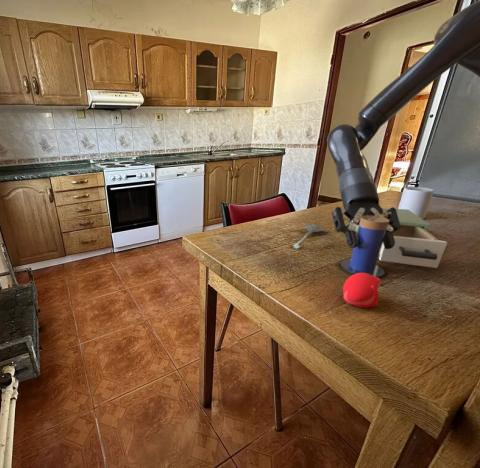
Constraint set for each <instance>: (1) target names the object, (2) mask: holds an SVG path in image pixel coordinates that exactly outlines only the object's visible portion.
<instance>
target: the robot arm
mask: <svg viewBox="0 0 480 468" xmlns="http://www.w3.org/2000/svg"><path fill="white" fill-rule="evenodd" d="M456 64H457V65H459V66H461V67H463V68H464V69H466V70H468V71H470V72H472V73H473V74H474V75H476V76H477V77H478V78H480V0H478V1H475V2H473V3H471V4H469V5H467V6H466V7H465V8H463V9H461V10H460V11H459V12H457V13H455V14H454V15H453V16H451V17H449V18H447V20H445V21H444V22H443V23H442V24H441V25H440V26H439V27H438V29H437V30H436V32H435V35H434V38H433V46H432V47H431V48H430V49H429V50H428V51H427V52H426V53H424V55H423V56H422V57H420V58H419V59H418V60H417V61H416V62H415V63H413V64H412V65H411V66H410V67H409V68H407V69H406V70H405V71H403V73H401V74H400V75H398V77H396V78H395V79H394V80H393V81H392V82H390V83H389V84H388V85H387V86H385V87H383V89H382V90H381V91H380V92H378V93H377V94H376V95H375V96H374V97H373V98H372V99H371V100H370V101H369V102H368V103H367V104H366V105H364V106H363V108H361V110H360V111H359V112H358V115H357V124H356V126H355V127H354V126H353V125H351V124H347V123H341V124H338V125H336V126H334V127H333V128H332V129H331V130H330V131H329V133H328V135H327V139H326V144H327V148H328V151H329V153H330V155H331V158H332V160H333V162H334V165H335V169H336V175H337V179H338V189H339V193H340V199H341V202H342V206H343V208H341V206H337V207H335V208H334V209H333V211H331V216H332V221H333V225H334V229H335V232H337V233H340V232H341V233H343V234H344V235H345V240H346V244H347V246H349V248H351V249H353V248H355V247H357V246H358V242H357V238H356V236H357V232H356V230H355V229H356V225H359V222H360V218H361V216H364V215H373V216H380V217H383V216H384V218H387V219H389V224H388V228H387V229H386V232H385V236H384V239H383V244H384V248H385V249H390V248H392V247H394V245H395V241H394V237H393V233H394V232H395V231H397V230H399V229H400V228H401V226H400V222H399V219H398V215H397V211H396V209H397V208H395V207H393V206H392V207H389V208H390V209H382V208H383V207H381V206H380V197H379V194H378V190H377V187H376V184H375V179H374V177H373V175H372V173H371V171H370V167H369V164H368V161H367V158H366V156H365V155H364V153H363V150H364V149H365V148H366V147H367V146H368V144H369V143H370V142H371V141H372V139H373V138H374V137H375V135H377V133H378V131H379V130H380V129H381V127H383V125H385V124H386V123H387V122H388V121H390V120H391V119H392V118H393V117H394V116H395V115H397V113H399V112H400V111H401V110H402V109H403V108H404V107H405V106H406V105H408V104H409V103H410V102H411V101H412V100H413V99H415V98H416V97H417V96H418V95H419V94H420V93H422V92H423V90H425V89H426V88H427V87H428V86H430V84H432V83H433V82H434V81H435V80H437V79H438V78H439V77H441V76H442V75H444V73H445V72H448V70H450V69H451V68H452V67H454V66H455V65H456ZM381 214H382V215H383V216H382V215H381ZM344 216H345V217H347V219H349V220H348V221H347V223H345V219H344Z"/></svg>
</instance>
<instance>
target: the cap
mask: <svg viewBox="0 0 480 468" xmlns="http://www.w3.org/2000/svg"><path fill="white" fill-rule="evenodd" d="M381 282H382V280H381V279H380V278H378V277H375V276H372V275H370V274H367V273H357V274H351V275H350V276H349V277H348V278H347V279H346V280H345V282H344V284H343V288H342V291H343V296H342V297H343V299H344V301H345V302H346V303H347V304H349V305H352V306H354V307H359V308H372V307H377V306H378V305H379V302H378V300H379V298H380V296H379V295H380V294H379V291H378V289H379V284H381Z"/></svg>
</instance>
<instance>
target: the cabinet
mask: <svg viewBox="0 0 480 468" xmlns="http://www.w3.org/2000/svg"><path fill="white" fill-rule="evenodd" d="M381 208H382V209H390V208H391V207H381ZM395 209H396V211H397V215H398V219H399V222H400V225H408V226H420V227H422V228H423V229H425V230H426V231H427V232H429V229H430V227H431V224H430V223H428V222H427V221H426V220H425V219H421V218H420V217H418V216H417V215H415V214H414V213H412V212H411V211H409V210H407V209H398V208H395ZM381 215H382V214H381ZM382 216H383V215H382ZM383 217H384V216H383ZM358 228H359V225H357V224H356V226H355V228H354V231H355V233H357V232H358Z"/></svg>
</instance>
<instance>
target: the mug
mask: <svg viewBox="0 0 480 468" xmlns="http://www.w3.org/2000/svg"><path fill="white" fill-rule="evenodd" d="M434 192H435V189H432V188H428V187H421V186H406V187H404V188H403V190H402V194H401V198H400V200H399V204H398V208H397V209H407V210H409V211H411V212H412V213H414V214H415V215H417V216H418V217H420V218H421V219H423V220H425V218H426V215H427V213H428V210H429V206H430V204H431V201H432V198H433V195H434Z"/></svg>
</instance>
